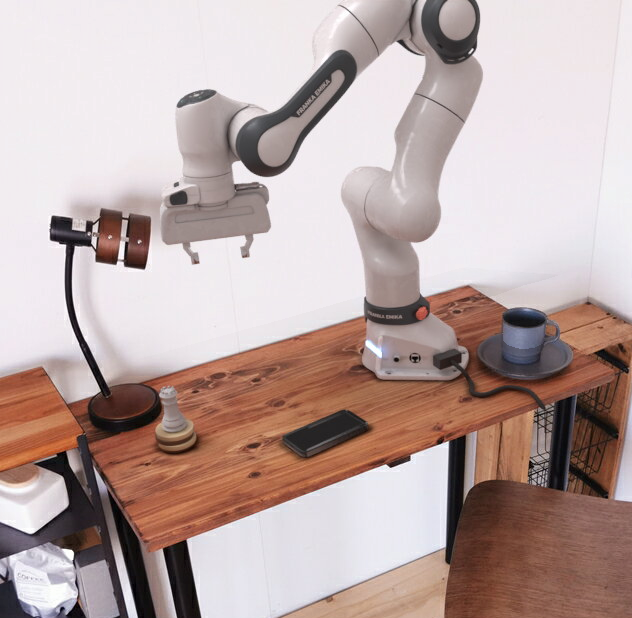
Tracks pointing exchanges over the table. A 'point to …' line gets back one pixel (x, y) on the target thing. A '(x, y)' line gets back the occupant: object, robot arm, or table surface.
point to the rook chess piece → (171, 411)
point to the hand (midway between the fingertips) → (220, 260)
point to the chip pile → (175, 438)
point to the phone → (324, 433)
